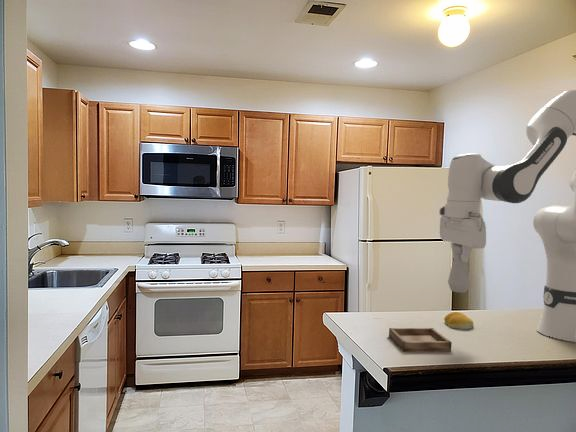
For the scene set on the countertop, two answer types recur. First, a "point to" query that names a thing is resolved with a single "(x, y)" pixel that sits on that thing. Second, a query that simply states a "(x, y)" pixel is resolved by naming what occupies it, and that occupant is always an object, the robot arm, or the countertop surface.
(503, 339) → the countertop surface
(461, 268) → the salt shaker
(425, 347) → the tray
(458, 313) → the bread roll
